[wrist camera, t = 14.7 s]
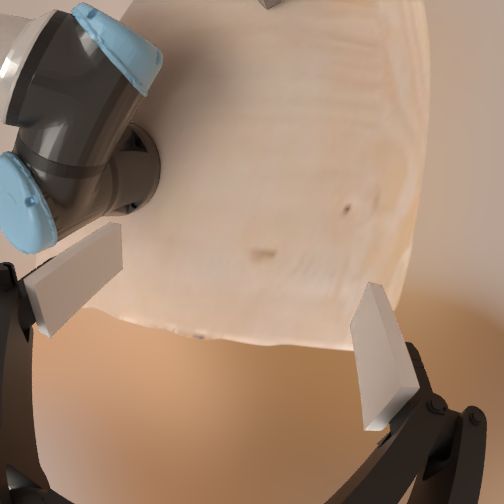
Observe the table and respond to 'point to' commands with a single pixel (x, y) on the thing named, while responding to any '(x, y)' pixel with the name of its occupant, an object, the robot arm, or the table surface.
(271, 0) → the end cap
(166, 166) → the table surface
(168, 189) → the table surface
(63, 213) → the robot arm
